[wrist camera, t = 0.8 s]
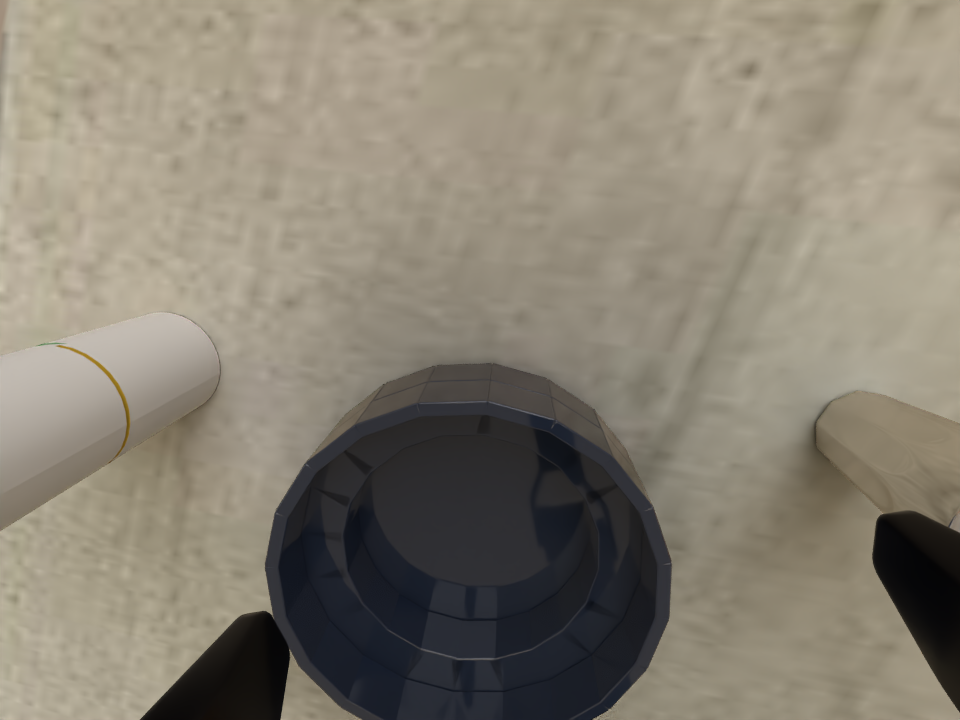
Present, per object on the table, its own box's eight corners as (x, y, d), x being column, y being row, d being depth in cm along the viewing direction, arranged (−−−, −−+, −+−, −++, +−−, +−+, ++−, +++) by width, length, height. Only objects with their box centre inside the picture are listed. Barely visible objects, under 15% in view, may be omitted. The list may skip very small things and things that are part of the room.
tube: (223, 323, 22) (-308, 529, 8) (217, 420, 23) (-257, 756, 9) (119, 302, 22) (-599, 471, 8) (118, 401, 24) (-510, 704, 9)
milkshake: (761, 466, 23) (946, 656, 13) (842, 354, 21) (1117, 473, 12) (855, 514, 23) (1104, 733, 13) (941, 406, 22) (1287, 564, 12)
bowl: (634, 650, 25) (663, 753, 21) (335, 649, 26) (295, 748, 21) (643, 354, 22) (680, 395, 17) (295, 365, 23) (236, 407, 18)
